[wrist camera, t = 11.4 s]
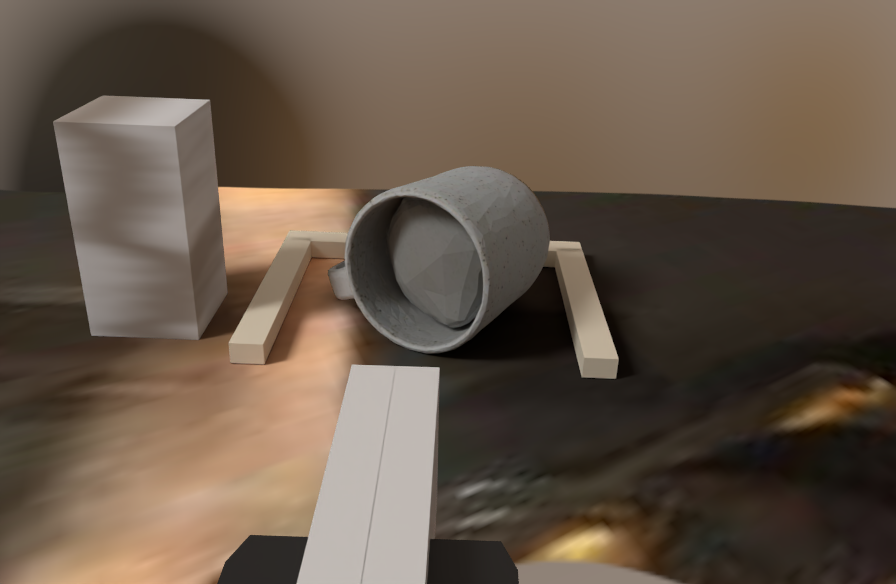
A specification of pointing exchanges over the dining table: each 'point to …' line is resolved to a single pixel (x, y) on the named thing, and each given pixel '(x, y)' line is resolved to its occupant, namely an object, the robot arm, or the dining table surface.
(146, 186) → the grey block
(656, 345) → the dining table surface
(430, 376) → the robot arm
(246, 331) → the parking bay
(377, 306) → the ceramic mug
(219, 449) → the dining table surface
